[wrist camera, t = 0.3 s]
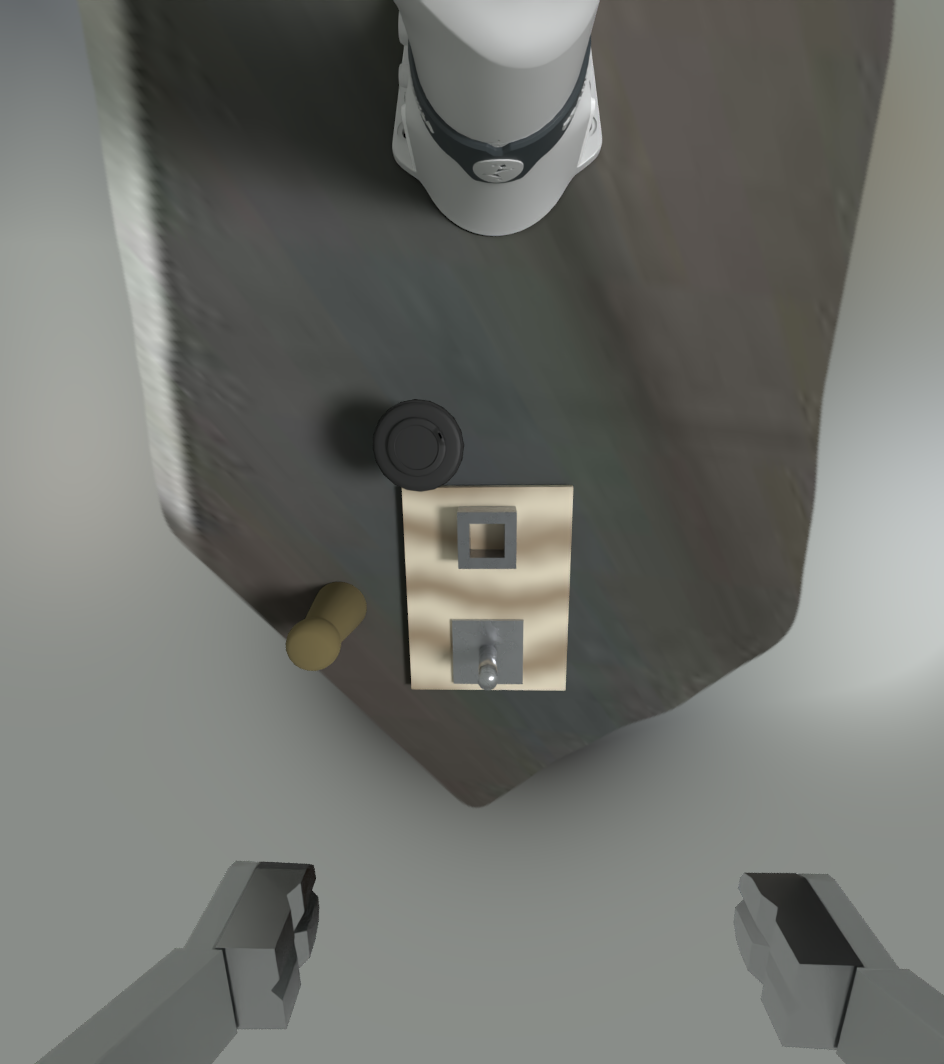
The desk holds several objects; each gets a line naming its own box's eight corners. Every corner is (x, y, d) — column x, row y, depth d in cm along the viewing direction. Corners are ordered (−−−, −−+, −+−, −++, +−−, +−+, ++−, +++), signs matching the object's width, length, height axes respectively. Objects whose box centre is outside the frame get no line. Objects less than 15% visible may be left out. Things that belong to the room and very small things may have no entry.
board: (403, 486, 54) (401, 487, 53) (571, 484, 54) (573, 486, 52) (413, 683, 60) (411, 689, 59) (563, 684, 60) (565, 690, 59)
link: (458, 506, 53) (457, 512, 51) (515, 505, 53) (516, 512, 50) (459, 559, 55) (458, 568, 52) (514, 559, 55) (516, 568, 52)
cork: (304, 605, 58) (262, 651, 48) (339, 571, 57) (304, 610, 46) (342, 639, 59) (310, 692, 49) (377, 607, 58) (352, 654, 47)
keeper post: (452, 618, 57) (447, 645, 51) (523, 619, 56) (527, 646, 50) (453, 681, 59) (449, 715, 53) (522, 682, 59) (526, 716, 52)
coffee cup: (483, 428, 52) (481, 435, 43) (440, 491, 54) (430, 511, 45) (417, 382, 51) (401, 379, 42) (377, 449, 53) (352, 460, 44)
